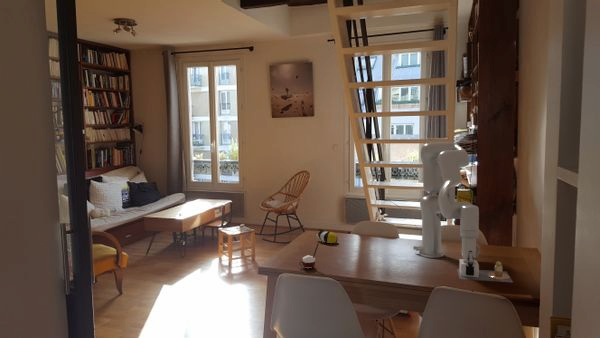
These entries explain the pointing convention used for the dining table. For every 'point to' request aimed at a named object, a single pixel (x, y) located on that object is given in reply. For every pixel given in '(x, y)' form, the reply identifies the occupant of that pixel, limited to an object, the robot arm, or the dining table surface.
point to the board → (484, 276)
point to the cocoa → (309, 260)
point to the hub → (498, 272)
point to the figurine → (327, 236)
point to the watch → (477, 252)
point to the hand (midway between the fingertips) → (468, 271)
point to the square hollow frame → (463, 268)
